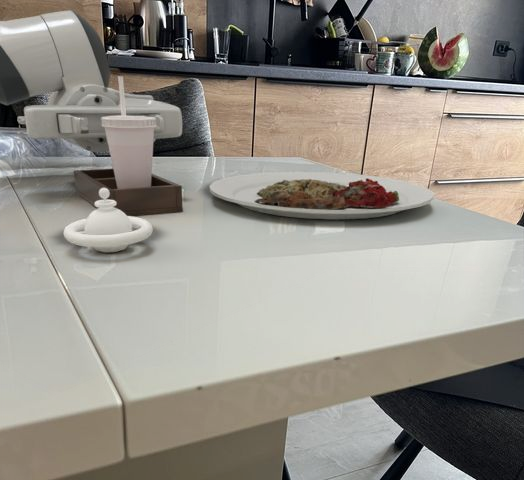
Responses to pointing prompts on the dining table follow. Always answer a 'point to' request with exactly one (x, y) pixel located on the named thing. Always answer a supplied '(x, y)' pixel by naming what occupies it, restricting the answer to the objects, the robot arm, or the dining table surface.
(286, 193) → the plated food
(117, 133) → the smoothie
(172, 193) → the holder
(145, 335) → the dining table surface
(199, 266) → the dining table surface
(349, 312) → the dining table surface
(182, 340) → the dining table surface
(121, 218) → the ring around a ball
